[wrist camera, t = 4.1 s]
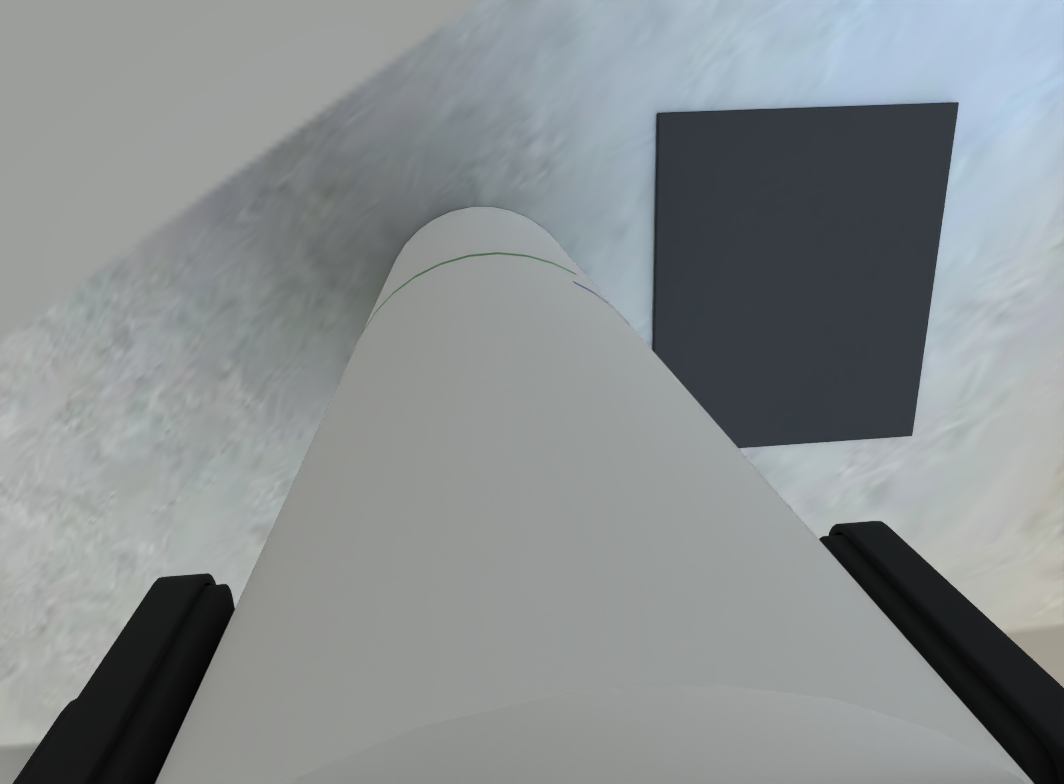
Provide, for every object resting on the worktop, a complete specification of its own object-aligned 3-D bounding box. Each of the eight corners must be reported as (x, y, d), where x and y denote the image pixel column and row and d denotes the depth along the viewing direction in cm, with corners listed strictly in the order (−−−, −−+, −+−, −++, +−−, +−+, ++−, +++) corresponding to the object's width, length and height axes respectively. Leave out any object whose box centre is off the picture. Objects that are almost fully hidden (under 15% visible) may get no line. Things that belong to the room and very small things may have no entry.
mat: (656, 113, 27) (659, 112, 27) (953, 102, 28) (959, 102, 27) (650, 451, 31) (652, 454, 31) (908, 433, 32) (912, 436, 32)
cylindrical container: (497, 428, 30) (643, 1481, 7) (347, 319, 28) (-192, 1271, 5) (616, 289, 29) (1322, 1001, 5) (466, 164, 27) (538, 419, 3)
